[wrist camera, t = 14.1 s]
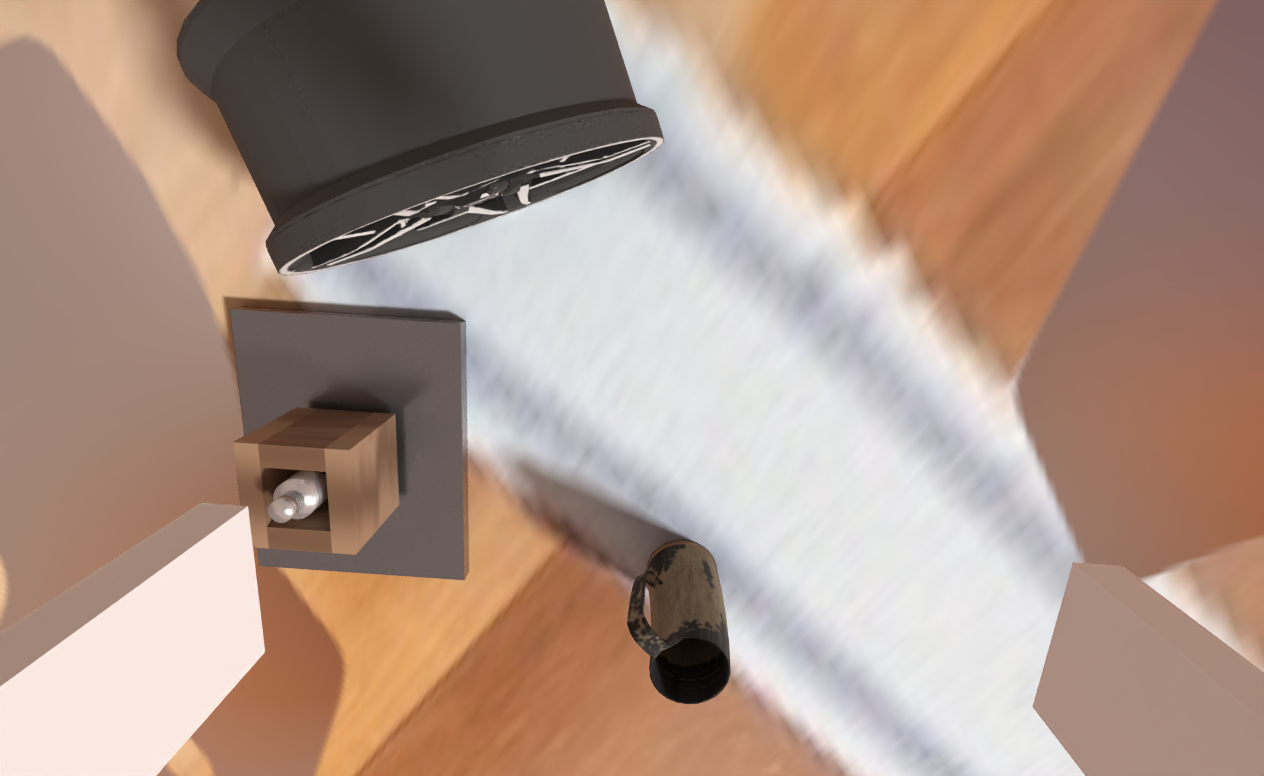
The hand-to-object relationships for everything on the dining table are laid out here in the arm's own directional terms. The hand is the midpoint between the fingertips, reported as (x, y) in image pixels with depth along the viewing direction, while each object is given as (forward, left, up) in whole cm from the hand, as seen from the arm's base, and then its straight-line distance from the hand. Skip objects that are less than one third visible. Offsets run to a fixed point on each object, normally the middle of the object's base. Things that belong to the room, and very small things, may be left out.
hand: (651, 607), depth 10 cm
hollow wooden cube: (+12, -21, -33) cm, 41 cm away
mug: (+20, +3, -35) cm, 40 cm away
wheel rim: (-10, -11, -35) cm, 38 cm away
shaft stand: (+12, -21, -35) cm, 42 cm away
